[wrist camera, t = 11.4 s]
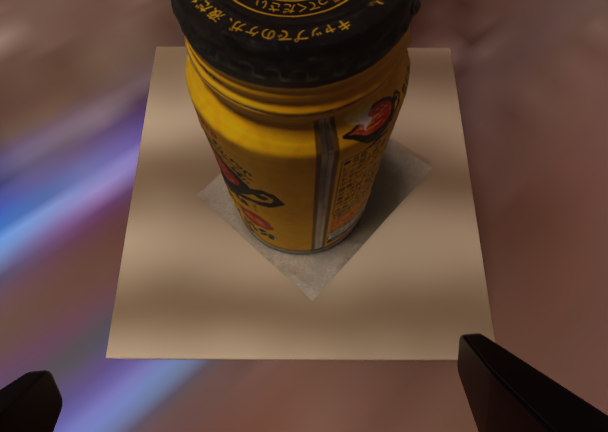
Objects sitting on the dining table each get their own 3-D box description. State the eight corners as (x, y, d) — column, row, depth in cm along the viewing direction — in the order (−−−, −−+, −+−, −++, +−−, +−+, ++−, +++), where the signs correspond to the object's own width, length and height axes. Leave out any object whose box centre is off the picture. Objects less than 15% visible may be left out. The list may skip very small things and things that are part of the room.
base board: (469, 360, 20) (497, 359, 17) (134, 359, 20) (105, 357, 17) (433, 83, 25) (450, 48, 22) (172, 82, 25) (156, 46, 22)
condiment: (197, 196, 19) (48, -46, 8) (317, 86, 21) (333, -226, 10) (312, 302, 18) (329, 184, 6) (430, 171, 20) (599, -91, 8)
